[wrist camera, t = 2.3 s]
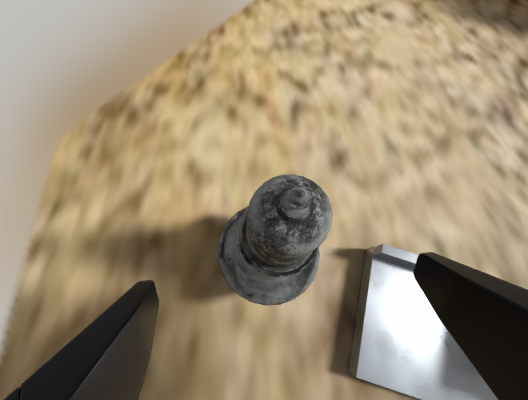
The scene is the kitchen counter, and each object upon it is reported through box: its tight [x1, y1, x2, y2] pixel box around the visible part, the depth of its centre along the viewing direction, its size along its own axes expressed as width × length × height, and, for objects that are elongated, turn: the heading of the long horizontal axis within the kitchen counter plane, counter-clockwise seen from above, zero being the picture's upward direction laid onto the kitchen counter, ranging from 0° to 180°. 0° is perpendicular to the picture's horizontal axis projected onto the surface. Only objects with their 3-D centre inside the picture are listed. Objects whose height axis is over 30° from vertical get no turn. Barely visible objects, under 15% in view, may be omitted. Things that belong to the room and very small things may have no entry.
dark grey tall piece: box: [218, 175, 332, 305], centre depth 12 cm, size 6×6×12 cm
